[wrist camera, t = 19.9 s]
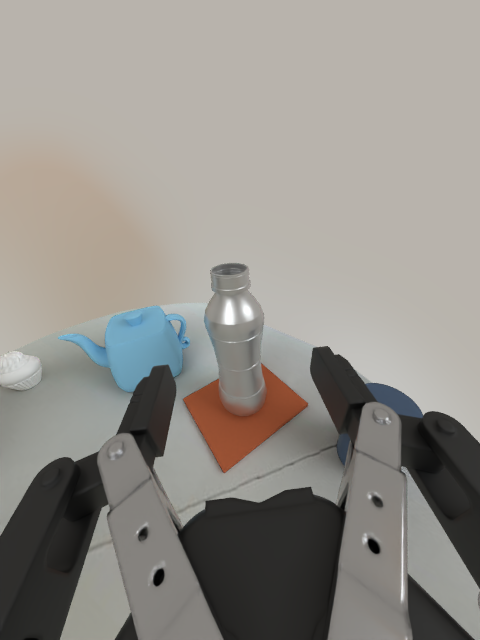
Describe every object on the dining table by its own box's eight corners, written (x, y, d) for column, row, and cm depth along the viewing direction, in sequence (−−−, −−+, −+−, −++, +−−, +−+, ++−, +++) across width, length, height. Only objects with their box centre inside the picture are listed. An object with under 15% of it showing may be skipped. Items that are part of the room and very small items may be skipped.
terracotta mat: (255, 360, 39) (255, 358, 38) (307, 406, 30) (308, 403, 30) (183, 401, 32) (182, 398, 32) (224, 473, 24) (223, 471, 23)
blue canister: (353, 422, 28) (372, 374, 23) (401, 460, 24) (435, 411, 19) (326, 449, 25) (340, 402, 20) (375, 496, 21) (406, 452, 16)
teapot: (95, 364, 41) (65, 313, 35) (187, 336, 46) (174, 288, 40) (84, 417, 31) (39, 360, 25) (201, 374, 37) (188, 319, 31)
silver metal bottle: (252, 432, 27) (241, 288, 16) (211, 408, 30) (179, 275, 19) (274, 395, 31) (276, 262, 20) (236, 378, 35) (221, 256, 24)
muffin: (20, 375, 40) (-6, 347, 36) (56, 367, 41) (35, 338, 37) (-2, 402, 35) (-34, 372, 31) (41, 392, 36) (14, 362, 32)
